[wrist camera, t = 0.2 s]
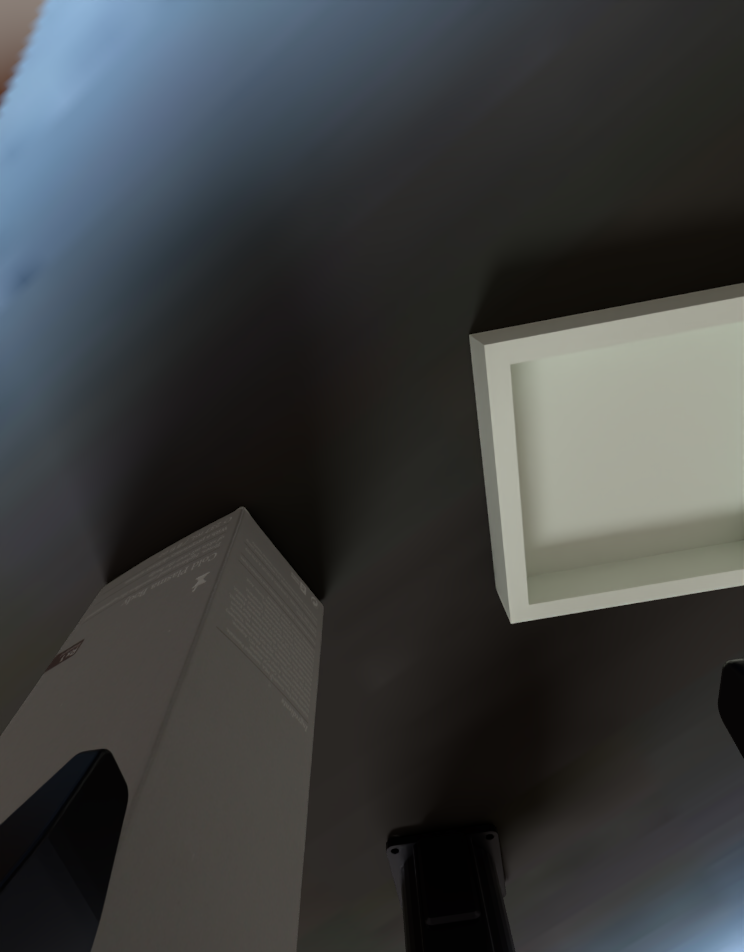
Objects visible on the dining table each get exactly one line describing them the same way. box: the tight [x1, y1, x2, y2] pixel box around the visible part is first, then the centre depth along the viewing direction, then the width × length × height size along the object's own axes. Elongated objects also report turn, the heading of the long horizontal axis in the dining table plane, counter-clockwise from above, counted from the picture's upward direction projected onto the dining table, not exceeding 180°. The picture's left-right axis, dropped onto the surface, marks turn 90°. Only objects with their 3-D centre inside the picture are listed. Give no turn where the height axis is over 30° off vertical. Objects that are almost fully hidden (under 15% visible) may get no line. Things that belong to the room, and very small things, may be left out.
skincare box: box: [0, 507, 324, 952], centre depth 17 cm, size 8×7×16 cm
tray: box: [469, 283, 744, 624], centre depth 21 cm, size 12×12×2 cm
